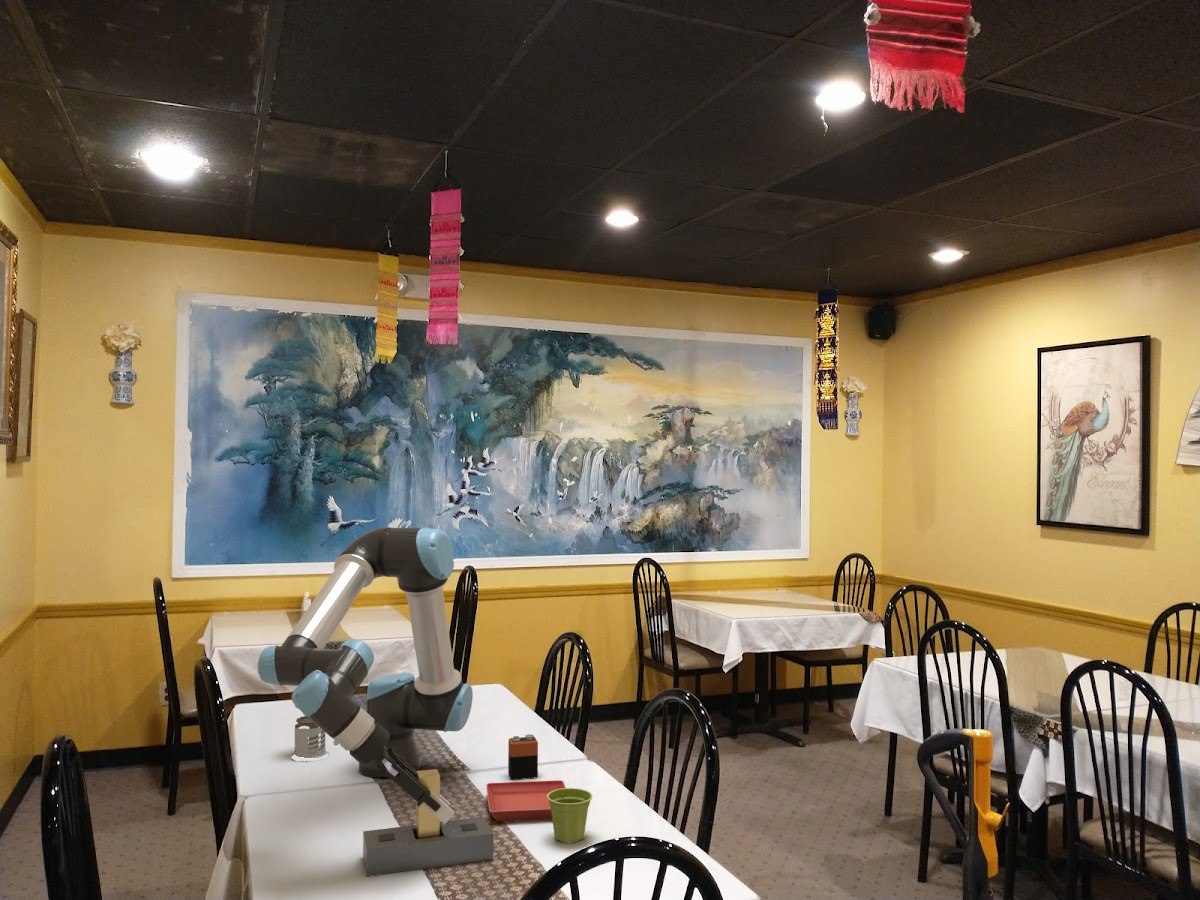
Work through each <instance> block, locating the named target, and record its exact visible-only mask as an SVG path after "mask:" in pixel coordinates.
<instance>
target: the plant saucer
mask: <svg viewBox="0 0 1200 900" xmlns="http://www.w3.org/2000/svg"><path fill="white" fill-rule="evenodd" d="M485 787H486V794H487V805H488V810H489V811H488V812H489V813H490V814H491V816H492V817H493V818H494V819H495V821H497V822H514V821H515V820H520V821H532V820H534V821H535V820H538V821H539V820H553V819H552V812H551V806H550V805H549V800H548V799H547V794H548V793H549V792H551V791H553V790H557V789H562V788H567V787H566V784H565V781H563V780H560V779H559V780H558V779H557V780H536V781H535V780H534V781H533V780H532V781H507V782H505V781H504V782H488V783H486V786H485ZM515 822H516V821H515Z"/></svg>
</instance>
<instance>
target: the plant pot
mask: <svg viewBox="0 0 1200 900" xmlns="http://www.w3.org/2000/svg"><path fill="white" fill-rule="evenodd" d="M547 799H548V800H549V805H550V806H551V812H552V819H551V820H552V826H553V827H552V828H553V833H554V839H555V840H556V841H558V840H559V841H560V842H561V843H565V844H567V843H569V844H570V843H572V844H573V843H577V842H579V841H580V840H583V839H584V838H585V833H586V824H587V818H588V810H589V807H590V803H591V800H592V799H593V794H592V793H591V792H590V791H588V790H586V789H582V788H575V787H566V788H562V789H557V790H553V791H551V792H549V793H548V794H547Z"/></svg>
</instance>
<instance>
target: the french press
mask: <svg viewBox="0 0 1200 900" xmlns="http://www.w3.org/2000/svg"><path fill="white" fill-rule="evenodd" d="M294 707H295V708H296V709H298V710H300V709H299V708H298V707H297V706H296V705H295V704H294ZM301 727H307V728H301ZM293 748H294V753H293V754H295V755H296V756H298V757H304V758H319V757H322V756H324V755H326V754H327V753H329V752H328V751H327V750H326V732H324V731H323V730H322V729H321V728H320V727H319V726H317V725H316V724H315V723H314V722H313V721H311V720H310V719H309V718H308V717H307V716H305V715H304V716H300V717H298V718H296V724H295V725H294V747H293Z"/></svg>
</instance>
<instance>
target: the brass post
mask: <svg viewBox="0 0 1200 900" xmlns="http://www.w3.org/2000/svg"><path fill="white" fill-rule="evenodd" d="M416 779H417V780H418V781H419V782H420V783H421V784H422V785H423V786H424V787H425V788H426V789H427V790H429V791H432V792H433V793H434V794H435V795H436V796H437V797H438V798H439V799H440V795H441V775H440V772H439V771H438V769H437V768H433V769H425V770H424V769H423V770H417V774H416ZM440 822H441V820H440V819H438V818H437V817H436V816H435V815H434V814H433V813H432V812H431V811H429V810H428V809H427V808H426V807H425V806H424V805H423V804H421V805H420V806H417V801H416V800H415V825H416V834H417V837H418V839H425V838H433V837H439V828H440Z"/></svg>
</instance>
